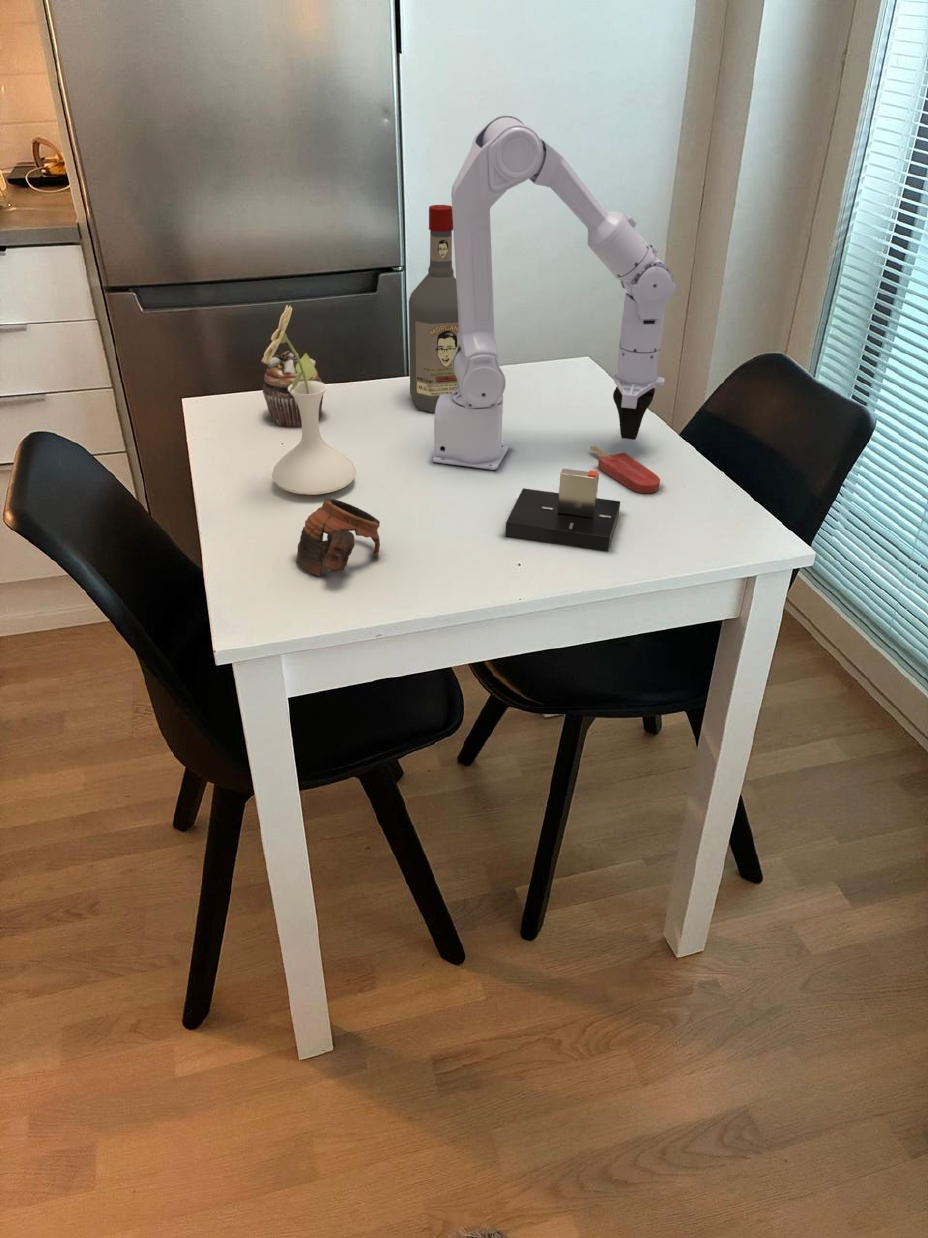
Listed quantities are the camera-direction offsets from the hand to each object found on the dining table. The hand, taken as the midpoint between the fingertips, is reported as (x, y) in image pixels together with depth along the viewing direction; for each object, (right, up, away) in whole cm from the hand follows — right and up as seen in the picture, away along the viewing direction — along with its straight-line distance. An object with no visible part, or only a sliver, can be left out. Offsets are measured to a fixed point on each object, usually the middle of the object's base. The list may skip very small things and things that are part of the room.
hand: (628, 437), depth 140 cm
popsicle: (-2, -6, -5) cm, 8 cm away
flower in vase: (-45, -9, -10) cm, 47 cm away
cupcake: (-51, +5, +10) cm, 52 cm away
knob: (-10, -13, -20) cm, 26 cm away
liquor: (-28, +9, +16) cm, 34 cm away
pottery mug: (-39, -20, -27) cm, 52 cm away
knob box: (-12, -15, -18) cm, 26 cm away
